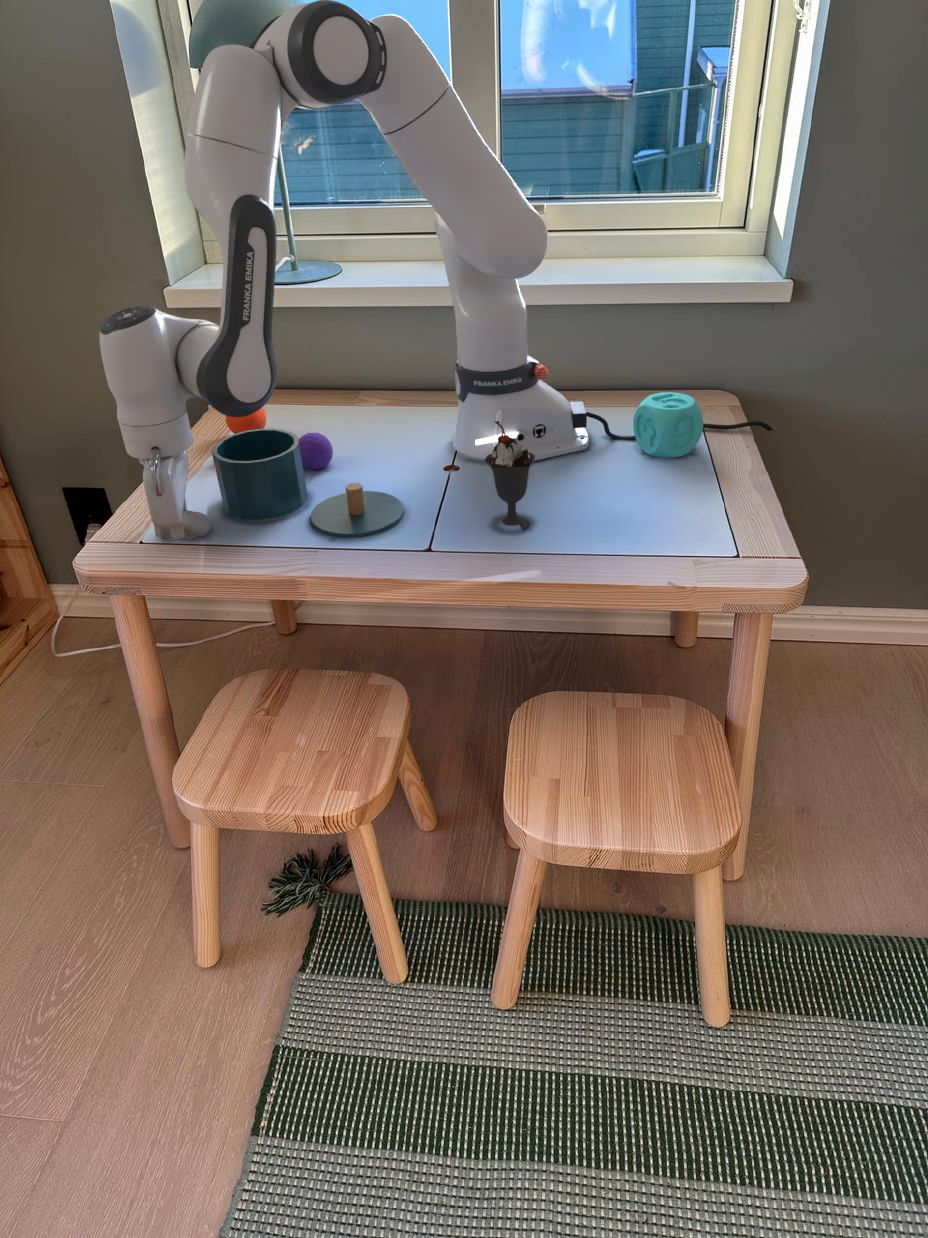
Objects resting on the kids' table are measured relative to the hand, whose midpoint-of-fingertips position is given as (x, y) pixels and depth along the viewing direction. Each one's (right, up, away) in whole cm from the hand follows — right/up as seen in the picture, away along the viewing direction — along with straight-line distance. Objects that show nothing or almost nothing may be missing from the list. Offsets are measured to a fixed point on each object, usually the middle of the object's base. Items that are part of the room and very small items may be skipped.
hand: (180, 526), depth 130 cm
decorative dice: (+73, +14, +18) cm, 76 cm away
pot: (+10, +4, +8) cm, 14 cm away
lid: (+25, +2, +2) cm, 25 cm away
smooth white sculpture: (0, -1, +1) cm, 2 cm away
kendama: (+10, +12, +20) cm, 25 cm away
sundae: (+47, 0, -1) cm, 47 cm away
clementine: (+2, +19, +31) cm, 36 cm away
